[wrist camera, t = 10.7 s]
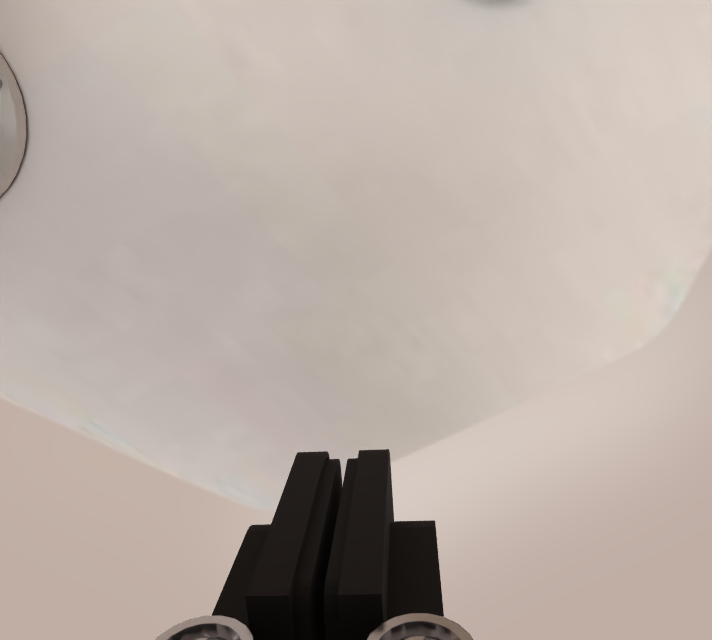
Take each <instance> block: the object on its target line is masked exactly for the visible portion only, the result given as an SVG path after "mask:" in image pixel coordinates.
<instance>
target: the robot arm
mask: <svg viewBox="0 0 712 640" xmlns="http://www.w3.org/2000/svg"><path fill="white" fill-rule="evenodd" d="M1 83H2V86H1ZM25 142H26V115H25V110H24V105H23V100H22V96H21V93H20V90H19V88H18V85H17V83H16V80H15V77H14V75H13V73H12V72H11V70H10V68H9V66H8V65H7V63H6V61H5V60H4V58H3V56H2V55H1V54H0V196H1V195H2V194H3V193H4V192H5V191H6V190H7V188H8V187H9V185H10V184H11V182H12V181H13V179H14V177H15V176H16V174H17V172H18V169H19V166H20V164H21V161H22V158H23V155H24V148H25ZM155 640H473V638H472V637H471V635H470V634H469V633H468V632H467V631H466V630H465V629H464V628H462V627H461V626H460V625H459V624H457V623H455V622H453V621H451V620H449V619H447V618H445V617H444V614H443V603H442V593H441V581H440V570H439V561H438V549H437V538H436V527H435V521H397V522H394V513H393V498H392V482H391V466H390V453H389V449H387V450H359V455H358V458H356V459H348V460H347V466H346V471H345V476H344V482H343V487H342V477H341V466H340V460H339V459H329V454H328V452H298V453H297V455H296V457H295V460H294V463H293V466H292V468H291V471H290V474H289V477H288V479H287V482H286V485H285V488H284V490H283V493H282V496H281V499H280V501H279V504H278V507H277V510H276V512H275V515H274V518H273V521H272V523H271V525H252V526H250V527H249V529H248V531H247V533H246V535H245V537H244V540H243V543H242V545H241V547H240V549H239V552H238V554H237V556H236V559H235V561H234V564H233V566H232V568H231V571H230V573H229V575H228V578H227V580H226V583H225V585H224V587H223V590H222V592H221V594H220V597H219V599H218V602H217V604H216V606H215V609H214V611H213V613H212V616H202V617H198V618H194V619H189V620H186V621H184V622H182V623H180V624H177V625H175V626H173V627H171V628H170V629H168V630H167V631H165V632H164V633H162V634H161V635H160V636H158V637H157V638H156V639H155Z"/></svg>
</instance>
